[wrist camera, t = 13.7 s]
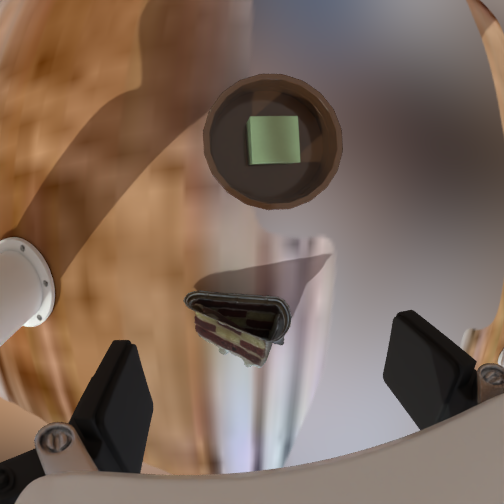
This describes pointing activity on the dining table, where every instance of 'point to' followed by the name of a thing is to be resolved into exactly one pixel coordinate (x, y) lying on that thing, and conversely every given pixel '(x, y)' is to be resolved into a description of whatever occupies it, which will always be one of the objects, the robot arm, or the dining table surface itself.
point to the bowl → (276, 175)
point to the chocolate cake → (240, 323)
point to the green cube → (272, 140)
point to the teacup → (501, 358)
